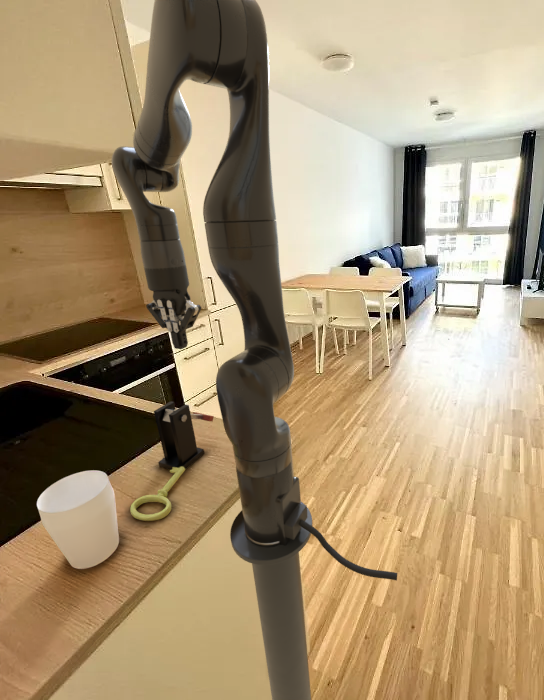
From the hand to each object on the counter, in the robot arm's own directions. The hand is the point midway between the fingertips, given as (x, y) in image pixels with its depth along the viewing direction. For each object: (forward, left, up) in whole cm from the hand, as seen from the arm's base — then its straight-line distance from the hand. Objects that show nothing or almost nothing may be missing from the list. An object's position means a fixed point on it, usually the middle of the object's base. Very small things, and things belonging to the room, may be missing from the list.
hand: (181, 347), depth 76 cm
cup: (-6, +29, -24) cm, 38 cm away
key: (-6, +17, -24) cm, 30 cm away
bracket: (-2, +7, -24) cm, 24 cm away
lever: (-2, +4, -16) cm, 16 cm away
